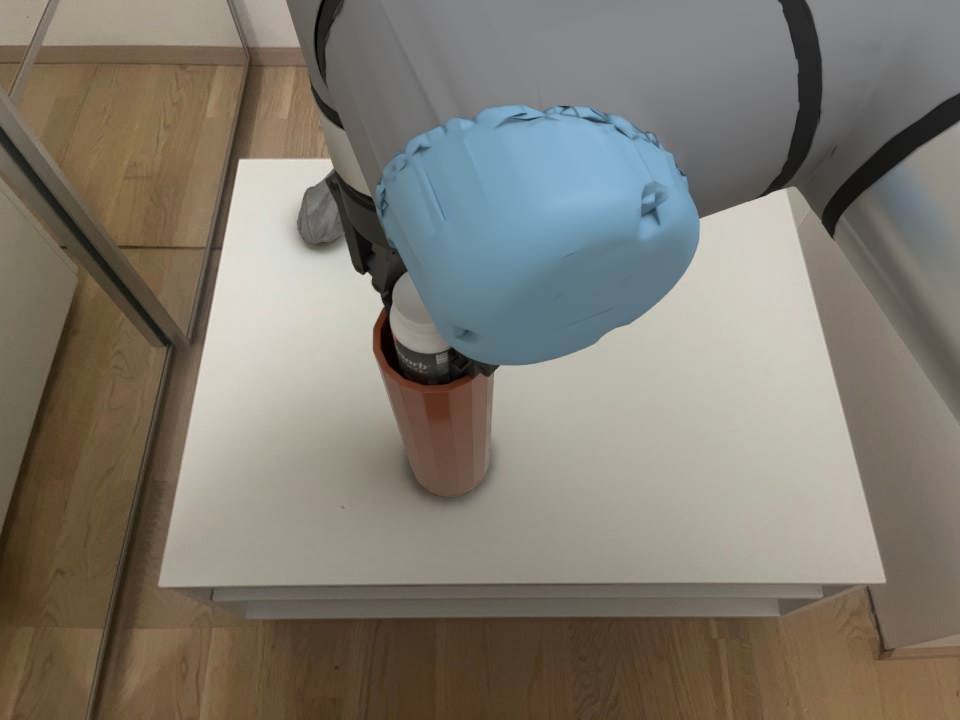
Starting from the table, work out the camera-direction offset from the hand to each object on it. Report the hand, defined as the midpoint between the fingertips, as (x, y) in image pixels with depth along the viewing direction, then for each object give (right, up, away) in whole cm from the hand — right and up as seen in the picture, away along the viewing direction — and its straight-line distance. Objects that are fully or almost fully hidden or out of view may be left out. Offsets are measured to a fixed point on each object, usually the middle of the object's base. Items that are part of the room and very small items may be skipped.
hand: (436, 355), depth 53 cm
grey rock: (-17, +19, +41) cm, 48 cm away
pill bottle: (0, 0, 0) cm, 0 cm away
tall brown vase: (0, -12, +26) cm, 29 cm away
